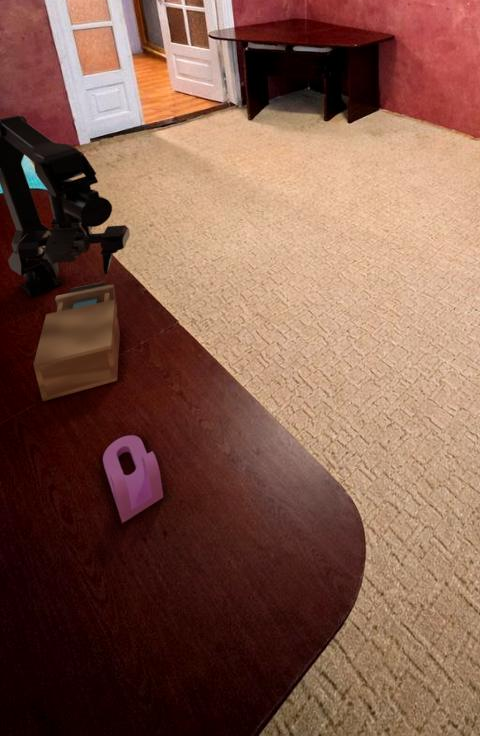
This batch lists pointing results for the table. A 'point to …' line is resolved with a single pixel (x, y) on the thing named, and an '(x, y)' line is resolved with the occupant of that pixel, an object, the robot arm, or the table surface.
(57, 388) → the cabinet
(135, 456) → the bracket
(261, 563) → the table surface
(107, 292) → the drawer
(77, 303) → the block
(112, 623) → the table surface
